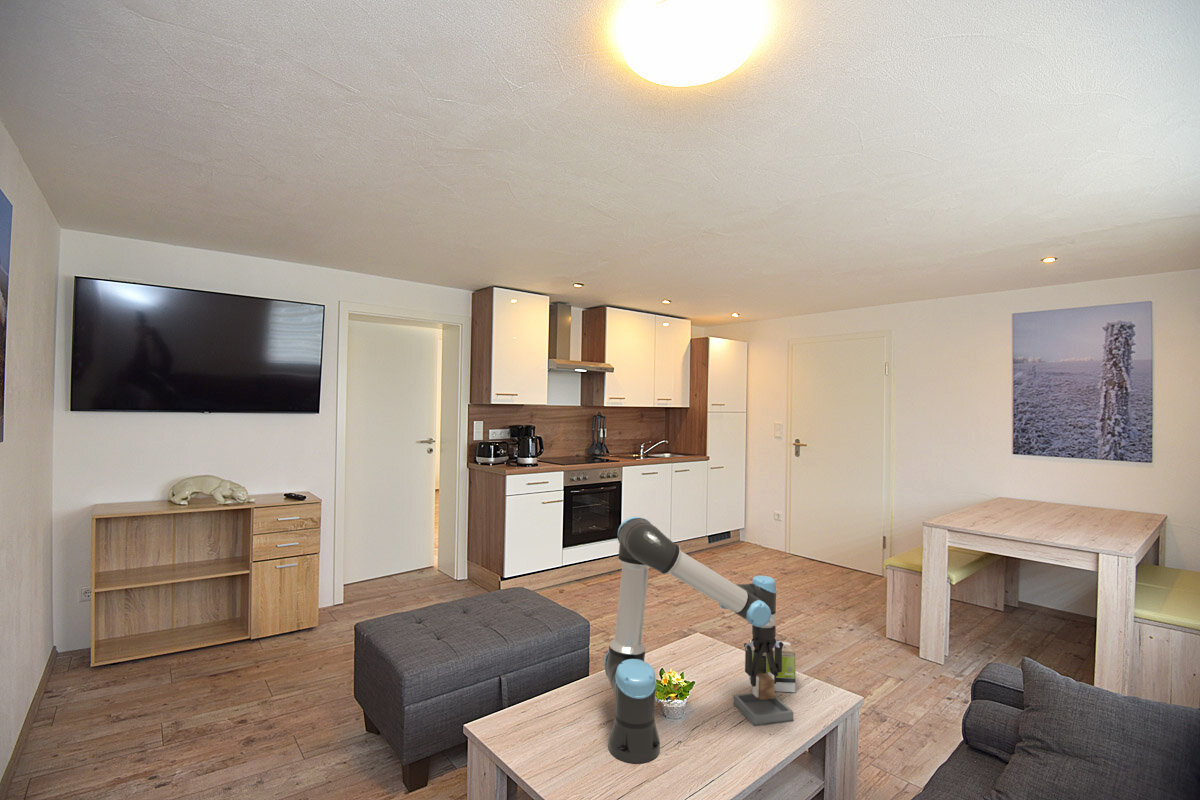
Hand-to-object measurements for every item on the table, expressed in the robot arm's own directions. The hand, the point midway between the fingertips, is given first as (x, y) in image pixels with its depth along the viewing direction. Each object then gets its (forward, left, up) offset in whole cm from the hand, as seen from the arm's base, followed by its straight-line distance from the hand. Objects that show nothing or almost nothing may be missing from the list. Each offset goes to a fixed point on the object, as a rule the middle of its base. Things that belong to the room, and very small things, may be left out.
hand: (763, 694), depth 186 cm
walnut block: (0, 0, 0) cm, 0 cm away
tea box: (+13, +16, -6) cm, 21 cm away
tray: (0, 0, -6) cm, 6 cm away
